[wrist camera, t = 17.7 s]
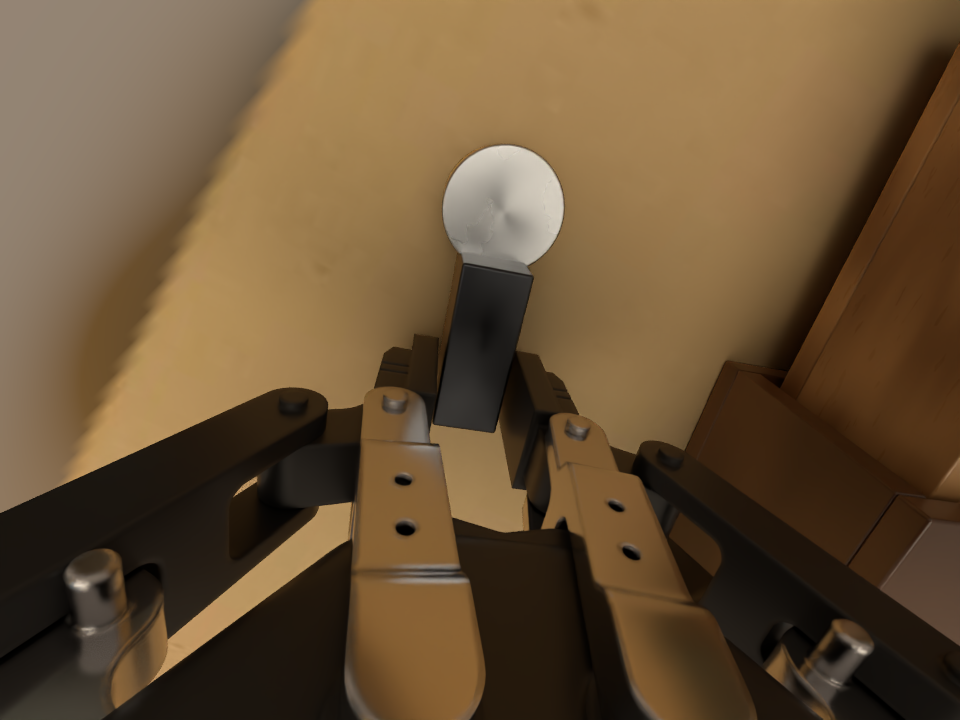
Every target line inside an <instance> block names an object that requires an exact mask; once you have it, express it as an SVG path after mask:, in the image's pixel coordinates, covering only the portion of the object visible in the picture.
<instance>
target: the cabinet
mask: <svg viewBox="0 0 960 720" xmlns="http://www.w3.org/2000/svg"><path fill="white" fill-rule="evenodd" d="M787 374H788V371H782V370H777V369H771V368H766V367H760V366H754V365H749V364H743V363H737V362H732V361H726V363H725V365H724V367H723V369H722V372H721V374H720V376H719V378H718V380H717V383H716V385H715V387H714V389H713V391H712V394H711V396H710V398H709V400H708V402H707V405H706V407H705V409H704V411H703V413H702V416H701V418H700V420H699V422H698V424H697V426H696V429H695V431H694V433H693V435H692V437H691V440H690V442H689V444H688V446H687V448H686V451H685V452H686V453H687V454H689V455H690V456H692V457H693V458H695V459H696V460H697V461H699V462H700V463H702V464H703V465H704V466H706V467H707V468H709V469H710V470H712V471H713V472H714V473H716V474H717V475H719V476H720V477H721V478H723V479H724V480H726V481H727V482H729V483H730V484H731V485H733V486H734V487H736V488H737V489H738V490H740V491H741V492H743V493H744V494H745V495H747V496H748V497H750V498H751V499H753V500H754V501H755V502H757V503H758V504H760V505H761V506H762V507H764V508H765V509H767V510H768V511H770V512H771V513H772V514H774V515H775V516H777V517H778V518H779V519H781V520H782V521H784V522H785V523H787V524H788V525H789V526H791V527H792V528H794V529H795V530H796V531H798V532H799V533H801V534H802V535H803V536H805V537H806V538H808V539H809V540H811V541H812V542H813V543H815V544H816V545H818V546H819V547H820V548H822V549H823V550H825V551H826V552H828V553H829V554H830V555H832V556H833V557H835V558H836V559H837V560H839V561H840V562H842V563H843V564H845V565H846V566H847V567H849V568H850V569H852V570H853V571H854V572H856V573H857V574H859V575H860V576H861V577H863V578H864V579H866V580H867V581H869V582H870V583H871V584H873V585H874V586H876V587H877V588H878V589H880V590H881V591H883V592H884V593H886V594H887V595H888V596H890V597H891V598H893V599H894V600H895V601H897V602H898V603H900V604H901V605H903V606H904V607H905V608H907V609H908V610H910V611H911V612H912V613H914V614H915V615H917V616H918V617H919V618H921V619H922V620H924V621H925V622H927V623H928V624H929V625H931V626H932V627H934V628H935V629H936V630H938V631H939V632H941V633H942V634H944V635H945V636H946V637H948V638H949V639H951V640H952V641H953V642H955V643H956V644H958V645H959V646H960V503H954V502H947V501H940V500H933V499H926V496H925V495H923V494H922V493H921V492H919V491H918V490H916V489H915V488H914V487H912V486H911V485H910V484H908V483H907V482H906V481H904V480H903V479H902V478H900V477H899V476H897V475H896V474H895V473H893V472H892V471H891V470H889V469H888V468H887V467H885V466H884V465H883V464H881V463H880V462H879V461H877V460H876V459H874V458H873V457H872V456H870V455H869V454H868V453H866V452H865V451H864V450H862V449H861V448H860V447H858V446H857V445H856V444H854V443H853V442H851V441H850V440H849V439H847V438H846V437H845V436H843V435H842V434H841V433H839V432H838V431H837V430H835V429H834V428H833V427H831V426H830V425H828V424H827V423H826V422H824V421H823V420H822V419H820V418H819V417H818V416H816V415H815V414H814V413H812V412H811V411H809V410H808V409H807V408H805V407H804V406H803V405H801V404H800V403H799V402H797V401H796V400H795V399H793V398H792V397H791V396H789V395H788V394H786V393H785V392H784V391H782V390H781V389H780V387H781V386H782V384H783V382H784V380H785V378H786V376H787ZM669 537H670V538H671V539H672V540H673V541H674V542H675V543H676V544H678V545H679V546H680V547H681V548H682V549H683V550H684V551H685V552H686V553H688V554H689V555H690V556H691V557H692V558H693V559H694V560H695V561H697V562H698V563H699V564H700V565H701V566H702V567H703V568H704V569H705V570H707V571H708V572H709V573H710V574H711V575H712V576H713V577H714V575H715V573H716V571H717V569H718V568H719V566H720V564H721V552H720V549H719V547H718V545H717V544H716V542H715V541H714V540H713V539H712V538H711V537H709V536H708V535H707V534H706V533H705V532H703V531H702V530H701V529H700V528H699V527H697V526H696V525H695V524H694V523H693V522H691V521H690V520H689V519H688V518H686V517H685V516H684V515H683V514H682V513H680V514H679V516H678V518H677V520H676V522H675V524H674V526H673V528H672V530H671V533H670V535H669Z"/></svg>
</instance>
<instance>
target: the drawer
mask: <svg viewBox="0 0 960 720" xmlns="http://www.w3.org/2000/svg"><path fill="white" fill-rule="evenodd" d="M780 389H781V390H782V391H784V392H785V393H786V394H788V395H789V396H791V397H792V398H793V399H795V400H796V401H797V402H799V403H800V404H801V405H803V406H804V407H805V408H807V409H808V410H809V411H811V412H812V413H814V414H815V415H816V416H818V417H819V418H820V419H822V420H823V421H824V422H826V423H827V424H828V425H830V426H831V427H833V428H834V429H835V430H837V431H838V432H839V433H841V434H842V435H843V436H845V437H846V438H847V439H849V440H850V441H851V442H853V443H854V444H856V445H857V446H858V447H860V448H861V449H862V450H864V451H865V452H866V453H868V454H869V455H870V456H872V457H873V458H874V459H876V460H877V461H879V462H880V463H881V464H883V465H884V466H885V467H887V468H888V469H889V470H891V471H892V472H893V473H895V474H896V475H897V476H899V477H900V478H902V479H903V480H904V481H906V482H907V483H908V484H910V485H911V486H912V487H914V488H915V489H916V490H918V491H919V492H921V493H922V494H923V495H925V496H926V499H933V500H940V501H947V502H954V503H960V42H959V44H958V46H957V48H956V50H955V52H954V54H953V56H952V58H951V60H950V62H949V64H948V65H947V67H946V69H945V71H944V73H943V75H942V77H941V79H940V81H939V83H938V85H937V87H936V89H935V91H934V92H933V94H932V96H931V98H930V100H929V102H928V104H927V106H926V108H925V110H924V112H923V114H922V116H921V118H920V119H919V121H918V123H917V125H916V127H915V129H914V131H913V133H912V135H911V137H910V139H909V141H908V143H907V145H906V146H905V148H904V150H903V152H902V154H901V156H900V158H899V160H898V162H897V164H896V166H895V168H894V170H893V171H892V173H891V175H890V177H889V179H888V181H887V183H886V185H885V187H884V189H883V191H882V193H881V195H880V197H879V198H878V200H877V202H876V204H875V206H874V208H873V210H872V212H871V214H870V216H869V218H868V220H867V222H866V224H865V225H864V227H863V229H862V231H861V233H860V235H859V237H858V239H857V241H856V243H855V245H854V247H853V249H852V251H851V252H850V254H849V256H848V258H847V260H846V262H845V264H844V266H843V268H842V270H841V272H840V274H839V276H838V278H837V279H836V281H835V283H834V285H833V287H832V289H831V291H830V293H829V295H828V297H827V299H826V301H825V303H824V305H823V306H822V308H821V310H820V312H819V314H818V316H817V318H816V320H815V322H814V324H813V326H812V328H811V330H810V332H809V333H808V335H807V337H806V339H805V341H804V343H803V345H802V347H801V349H800V351H799V353H798V355H797V357H796V359H795V360H794V362H793V364H792V366H791V368H790V370H789V372H788V374H787V376H786V378H785V380H784V382H783V384H782V386H781V387H780Z"/></svg>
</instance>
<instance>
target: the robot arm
mask: <svg viewBox="0 0 960 720" xmlns="http://www.w3.org/2000/svg"><path fill="white" fill-rule="evenodd" d="M438 348H439V338H436V337H430V336H424V335H419V334H414V340H413V346H412V350H411V349H404V348H398V347H393V348H391V349H389V350H388V351H386V352H385V353H384V355H383V359H382V363H381V365H380V369H379V372H378V376H377V379H376V382H375V386H374V389H372V390H370V391H369V392H368V393H366V395H365V397H364V404H362V405H359V406H356V407H353V408H347V409H328V402H327V400H326V398H325V397H324V396H322V395H321V394H319V393H317V392H315V391H312V390H309V389H304V388H280V389H276V390H272V391H270V392H267V393H265V394H263V395H260V396H258V397H256V398H254V399H252V400H249V401H247V402H245V403H243V404H241V405H238V406H236V407H234V408H232V409H230V410H227V411H225V412H223V413H221V414H219V415H216V416H214V417H212V418H210V419H207V420H205V421H203V422H201V423H199V424H196V425H194V426H192V427H190V428H188V429H185V430H183V431H181V432H179V433H177V434H174V435H172V436H170V437H168V438H166V439H163V440H161V441H159V442H157V443H154V444H152V445H150V446H148V447H146V448H143V449H141V450H139V451H137V452H135V453H132V454H130V455H128V456H126V457H124V458H121V459H119V460H117V461H115V462H112V463H110V464H108V465H106V466H104V467H101V468H99V469H97V470H95V471H93V472H90V473H88V474H86V475H84V476H82V477H79V478H77V479H75V480H73V481H71V482H68V483H66V484H64V485H62V486H59V487H57V488H55V489H53V490H51V491H49V492H46V493H44V494H42V495H40V496H37V497H35V498H33V499H31V500H29V501H26V502H24V503H22V504H20V505H18V506H15V507H13V508H11V509H9V510H7V511H4V512H2V513H0V720H960V646H959V645H958V644H956V643H955V642H953V641H952V640H951V639H949V638H948V637H946V636H945V635H944V634H942V633H941V632H939V631H938V630H936V629H935V628H934V627H932V626H931V625H929V624H928V623H927V622H925V621H924V620H922V619H921V618H919V617H918V616H917V615H915V614H914V613H912V612H911V611H910V610H908V609H907V608H905V607H904V606H903V605H901V604H900V603H898V602H897V601H895V600H894V599H893V598H891V597H890V596H888V595H887V594H886V593H884V592H883V591H881V590H880V589H878V588H877V587H876V586H874V585H873V584H871V583H870V582H869V581H867V580H866V579H864V578H863V577H861V576H860V575H859V574H857V573H856V572H854V571H853V570H852V569H850V568H849V567H847V566H846V565H845V564H843V563H842V562H840V561H839V560H837V559H836V558H835V557H833V556H832V555H830V554H829V553H828V552H826V551H825V550H823V549H822V548H820V547H819V546H818V545H816V544H815V543H813V542H812V541H811V540H809V539H808V538H806V537H805V536H803V535H802V534H801V533H799V532H798V531H796V530H795V529H794V528H792V527H791V526H789V525H788V524H787V523H785V522H784V521H782V520H781V519H779V518H778V517H777V516H775V515H774V514H772V513H771V512H770V511H768V510H767V509H765V508H764V507H762V506H761V505H760V504H758V503H757V502H755V501H754V500H753V499H751V498H750V497H748V496H747V495H745V494H744V493H743V492H741V491H740V490H738V489H737V488H736V487H734V486H733V485H731V484H730V483H729V482H727V481H726V480H724V479H723V478H721V477H720V476H719V475H717V474H716V473H714V472H713V471H712V470H710V469H709V468H707V467H706V466H704V465H703V464H702V463H700V462H699V461H697V460H696V459H695V458H693V457H692V456H690V455H689V454H687V453H686V452H684V451H683V450H681V449H679V448H677V447H675V446H673V445H670V444H668V443H664V442H660V441H645V442H643V443H642V444H641V445H640V447H639V450H638V452H637V454H636V455H635V454H632V453H629V452H626V451H623V450H620V449H617V448H614V447H611V446H610V445H609V443H608V440H607V437H606V435H605V432H604V431H603V429H602V428H601V427H600V426H599V425H597V424H596V423H595V422H593V421H591V420H590V419H588V418H585V417H583V416H580V415H579V413H578V411H577V409H576V407H575V405H574V403H573V401H572V400H571V397H570V395H569V393H568V392H567V389H566V387H565V385H564V383H563V381H562V380H560V379H559V378H558V377H557V376H556V375H555V374H553V373H551V372H546V371H545V369H544V367H543V365H542V362H541V360H540V358H539V356H538V355H537V354H531V353H525V352H519V351H515V355H514V359H513V363H512V367H511V371H510V375H509V379H508V383H507V387H506V391H505V394H504V398H503V402H502V406H501V410H500V414H499V423H500V428H501V433H502V439H503V444H504V449H505V454H506V459H507V465H508V470H509V475H510V480H511V486H512V488H514V489H522V490H527V495H526V498H525V501H524V505H523V508H522V515H523V531H518V532H508V533H504V532H498V531H495V530H491V529H488V528H485V527H482V526H478V525H475V524H472V523H469V522H465V521H462V520H459V519H456V518H452V515H451V510H450V504H449V498H448V492H447V486H446V480H445V474H444V468H443V462H442V456H441V450H440V446H439V444H433V443H430V435H429V433H430V427H431V422H432V417H433V412H434V407H435V402H436V396H437V376H438ZM256 476H257V482H256V483H255V484H253V485H251V486H250V487H248V488H247V489H245V490H244V491H242V492H241V493H239V494H238V495H236V496H234V495H235V493H236V492H237V491H238V489H239V488H240V487H241V486H242V485H244V484H245V483H246V482H248V481H249V480H251V479H253V478H254V477H256ZM233 496H234V497H233ZM347 502H351V511H350V522H349V532H348V541H346V542H344V543H343V544H341V545H339V546H337V547H336V548H334V549H333V550H332V551H330V552H329V553H327V554H326V555H325V556H323V557H322V558H321V559H319V560H318V561H317V562H315V563H314V564H313V565H311V566H310V567H308V568H307V569H306V570H304V571H303V572H302V573H300V574H299V575H298V576H296V577H295V578H293V579H292V580H291V581H289V582H288V583H287V584H285V585H284V586H283V587H281V588H280V589H278V590H277V591H276V592H274V593H273V594H272V595H270V596H269V597H268V598H266V599H265V600H263V601H262V602H261V603H259V604H258V605H257V606H255V607H254V608H253V609H251V610H250V611H248V612H247V613H246V614H244V615H243V616H242V617H240V618H239V619H238V620H236V621H235V622H233V623H232V624H231V625H229V626H228V627H227V628H225V629H224V630H223V631H221V632H220V633H218V634H217V635H216V636H214V637H213V638H212V639H210V640H209V641H208V642H206V643H205V644H203V645H202V646H201V647H199V648H198V649H197V650H195V651H194V652H193V653H191V654H190V655H188V656H187V657H186V658H184V659H183V660H182V661H180V662H179V663H178V664H176V665H175V666H174V667H172V668H171V669H169V670H168V671H167V672H165V673H164V674H163V675H161V676H160V677H159V678H157V679H156V680H154V681H153V682H152V683H150V682H151V681H152V680H153V679H154V677H155V676H156V675H157V673H158V672H159V670H160V669H161V667H162V665H163V663H164V661H165V658H166V655H167V649H168V639H169V638H170V637H171V636H172V635H174V634H175V633H176V632H177V631H178V630H180V629H181V628H182V627H183V626H184V625H186V624H187V623H188V622H189V621H190V620H192V619H193V618H194V617H195V616H196V615H198V614H199V613H200V612H201V611H202V610H204V609H205V608H206V607H207V606H208V605H210V604H211V603H212V602H213V601H214V600H216V599H217V598H218V597H219V596H220V595H221V594H223V593H224V592H225V591H226V590H227V589H229V588H230V587H231V586H232V585H233V584H235V583H236V582H237V581H238V580H239V579H241V578H242V577H243V576H244V575H245V574H247V573H248V572H249V571H250V570H251V569H253V568H254V567H255V566H256V565H257V564H259V563H260V562H261V561H262V560H263V559H264V558H266V557H267V556H268V555H269V554H270V553H272V552H273V551H274V550H275V549H276V548H278V547H279V546H280V545H281V544H282V543H284V542H285V541H286V540H287V539H288V538H290V537H291V536H292V535H293V534H294V533H296V532H297V531H298V530H299V529H300V528H302V527H303V526H304V525H305V524H306V523H307V522H309V521H310V520H311V519H312V518H313V517H314V516H315V515H316V513H317V511H318V509H319V506H322V505H331V504H339V503H347ZM680 513H682V514H683V515H684V516H685V517H686V518H688V519H689V520H690V521H691V522H693V523H694V524H695V525H696V526H697V527H699V528H700V529H701V530H702V531H703V532H705V533H706V534H707V535H708V536H709V537H711V538H712V539H713V540H714V541H715V542H716V544H717V545H718V547H719V549H720V552H721V564H720V566H719V568H718V569H717V571H716V573H715V575H714V577H713V576H712V575H711V574H710V573H709V572H708V571H707V570H705V569H704V568H703V567H702V566H701V565H700V564H699V563H698V562H697V561H695V560H694V559H693V558H692V557H691V556H690V555H689V554H688V553H686V552H685V551H684V550H683V549H682V548H681V547H680V546H679V545H678V544H676V543H675V542H674V541H673V540H672V539H671V538H670V537H669V535H670V533H671V530H672V528H673V526H674V524H675V522H676V520H677V518H678V516H679V514H680ZM149 683H150V684H149ZM148 684H149V685H148ZM147 685H148V686H147Z"/></svg>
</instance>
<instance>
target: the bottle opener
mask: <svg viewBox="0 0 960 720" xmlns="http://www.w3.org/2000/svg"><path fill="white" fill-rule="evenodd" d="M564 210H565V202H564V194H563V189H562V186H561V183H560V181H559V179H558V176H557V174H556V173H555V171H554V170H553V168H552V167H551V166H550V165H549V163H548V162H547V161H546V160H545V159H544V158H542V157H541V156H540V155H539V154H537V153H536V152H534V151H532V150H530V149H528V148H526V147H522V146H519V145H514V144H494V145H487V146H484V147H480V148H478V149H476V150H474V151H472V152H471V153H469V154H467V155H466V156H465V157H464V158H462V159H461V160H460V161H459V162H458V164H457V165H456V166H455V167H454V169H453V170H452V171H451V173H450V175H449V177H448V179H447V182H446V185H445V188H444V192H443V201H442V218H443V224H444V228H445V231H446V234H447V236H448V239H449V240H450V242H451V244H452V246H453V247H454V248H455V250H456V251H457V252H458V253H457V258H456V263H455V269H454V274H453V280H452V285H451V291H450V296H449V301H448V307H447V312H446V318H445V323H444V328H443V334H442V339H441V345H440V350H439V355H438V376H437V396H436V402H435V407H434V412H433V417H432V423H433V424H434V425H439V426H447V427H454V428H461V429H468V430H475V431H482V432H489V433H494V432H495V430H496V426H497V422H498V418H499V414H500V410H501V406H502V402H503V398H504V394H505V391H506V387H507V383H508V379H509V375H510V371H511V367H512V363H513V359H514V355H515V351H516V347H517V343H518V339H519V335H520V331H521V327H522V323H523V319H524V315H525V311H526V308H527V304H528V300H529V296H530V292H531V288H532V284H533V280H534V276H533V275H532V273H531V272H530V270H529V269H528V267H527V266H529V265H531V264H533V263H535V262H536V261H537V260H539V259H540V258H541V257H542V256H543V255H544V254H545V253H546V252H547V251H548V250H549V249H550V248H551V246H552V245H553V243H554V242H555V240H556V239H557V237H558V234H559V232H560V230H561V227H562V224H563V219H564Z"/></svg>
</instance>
